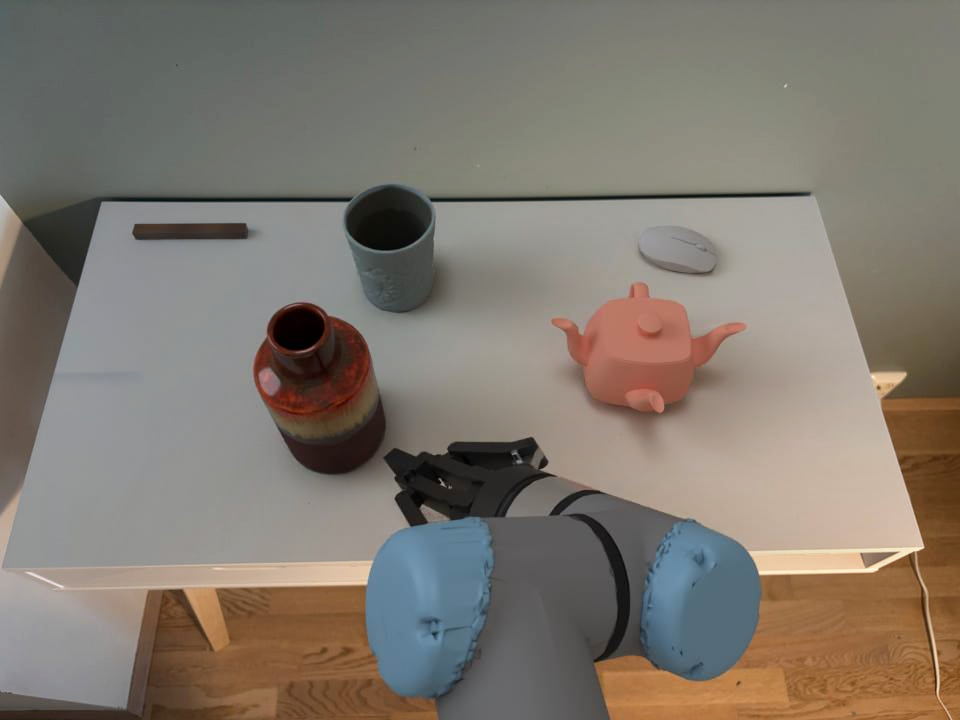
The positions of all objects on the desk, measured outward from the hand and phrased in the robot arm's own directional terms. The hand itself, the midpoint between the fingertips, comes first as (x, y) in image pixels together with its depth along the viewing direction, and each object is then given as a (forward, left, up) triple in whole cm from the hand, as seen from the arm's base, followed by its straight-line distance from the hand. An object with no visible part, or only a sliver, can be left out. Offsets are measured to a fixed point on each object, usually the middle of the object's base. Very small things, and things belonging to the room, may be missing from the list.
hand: (396, 463), depth 69 cm
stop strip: (-7, +44, -8) cm, 45 cm away
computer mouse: (+44, +10, -8) cm, 46 cm away
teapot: (+28, -2, -8) cm, 29 cm away
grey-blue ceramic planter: (+12, +24, -8) cm, 28 cm away
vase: (-3, +10, -8) cm, 13 cm away
